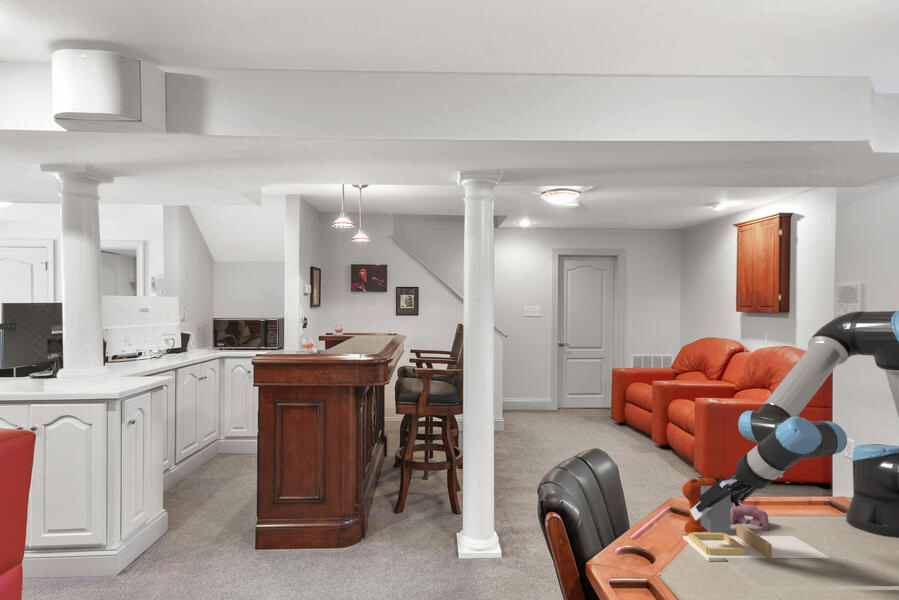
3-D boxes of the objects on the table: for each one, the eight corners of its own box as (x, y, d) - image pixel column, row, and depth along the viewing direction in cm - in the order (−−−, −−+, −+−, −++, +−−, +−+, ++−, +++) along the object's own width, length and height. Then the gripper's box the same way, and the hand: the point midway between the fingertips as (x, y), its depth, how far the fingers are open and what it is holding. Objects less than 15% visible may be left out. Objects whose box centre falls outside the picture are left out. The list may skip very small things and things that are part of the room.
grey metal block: (719, 525, 137) (719, 486, 137) (730, 532, 132) (730, 492, 132) (700, 525, 137) (700, 485, 137) (710, 532, 132) (710, 491, 132)
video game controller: (768, 535, 148) (768, 509, 151) (768, 533, 144) (768, 506, 147) (728, 528, 153) (729, 502, 156) (727, 525, 149) (728, 499, 152)
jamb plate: (793, 539, 141) (793, 523, 142) (829, 561, 128) (829, 544, 129) (683, 538, 141) (683, 523, 141) (708, 561, 128) (708, 544, 128)
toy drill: (747, 523, 148) (741, 470, 148) (693, 539, 142) (688, 484, 142) (733, 517, 153) (727, 465, 153) (680, 532, 147) (675, 479, 147)
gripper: (740, 485, 117) (683, 532, 132) (800, 477, 124) (739, 523, 139) (720, 455, 122) (667, 504, 137) (778, 449, 129) (722, 496, 144)
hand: (703, 513), depth 138 cm, fingers closed on grey metal block, 6 cm apart
